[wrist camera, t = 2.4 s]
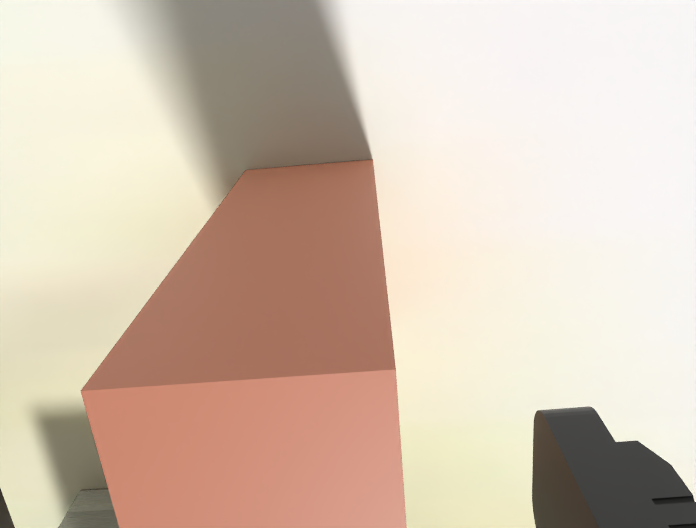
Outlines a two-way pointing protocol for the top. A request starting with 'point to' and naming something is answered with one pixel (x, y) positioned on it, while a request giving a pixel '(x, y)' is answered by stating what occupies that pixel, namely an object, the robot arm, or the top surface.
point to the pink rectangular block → (261, 368)
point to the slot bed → (91, 511)
